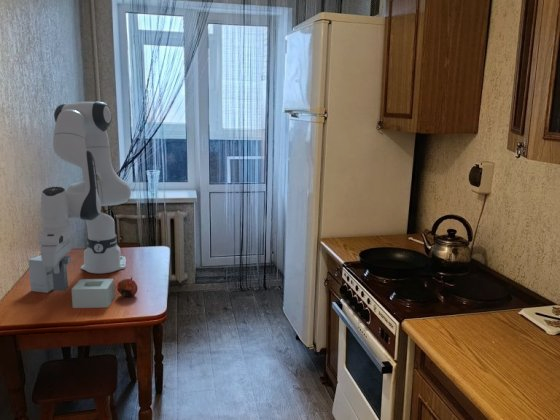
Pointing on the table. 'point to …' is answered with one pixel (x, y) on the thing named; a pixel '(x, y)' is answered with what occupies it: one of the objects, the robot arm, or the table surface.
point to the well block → (93, 293)
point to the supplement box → (40, 276)
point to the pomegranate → (127, 287)
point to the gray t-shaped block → (61, 275)
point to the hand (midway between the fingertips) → (59, 270)
